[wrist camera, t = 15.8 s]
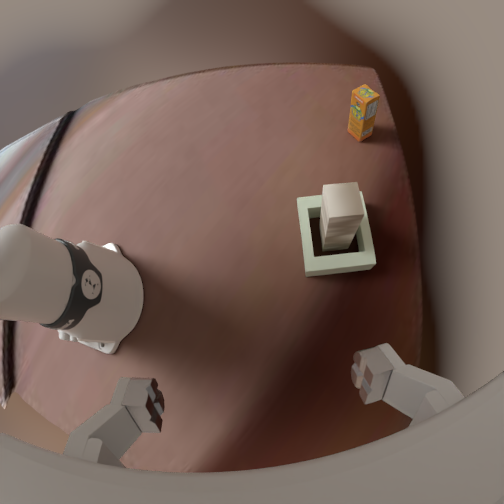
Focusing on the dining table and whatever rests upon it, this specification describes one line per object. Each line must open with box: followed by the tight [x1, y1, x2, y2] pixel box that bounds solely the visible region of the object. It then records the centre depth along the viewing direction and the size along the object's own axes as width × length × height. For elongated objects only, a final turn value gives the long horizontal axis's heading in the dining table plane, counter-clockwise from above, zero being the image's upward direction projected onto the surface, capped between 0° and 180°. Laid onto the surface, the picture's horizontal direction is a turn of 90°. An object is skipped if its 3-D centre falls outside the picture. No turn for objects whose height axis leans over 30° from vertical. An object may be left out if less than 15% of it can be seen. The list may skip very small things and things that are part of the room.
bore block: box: [297, 191, 376, 277], centre depth 35 cm, size 9×10×4 cm
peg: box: [319, 182, 365, 252], centre depth 31 cm, size 4×4×12 cm
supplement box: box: [348, 84, 380, 142], centre depth 36 cm, size 3×3×10 cm
